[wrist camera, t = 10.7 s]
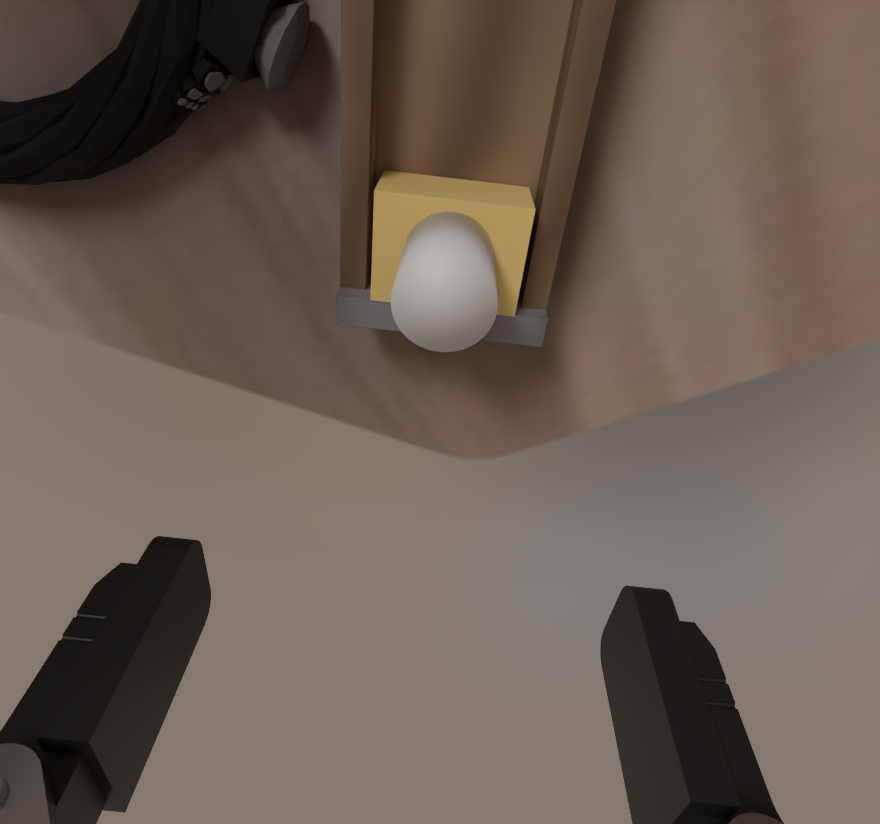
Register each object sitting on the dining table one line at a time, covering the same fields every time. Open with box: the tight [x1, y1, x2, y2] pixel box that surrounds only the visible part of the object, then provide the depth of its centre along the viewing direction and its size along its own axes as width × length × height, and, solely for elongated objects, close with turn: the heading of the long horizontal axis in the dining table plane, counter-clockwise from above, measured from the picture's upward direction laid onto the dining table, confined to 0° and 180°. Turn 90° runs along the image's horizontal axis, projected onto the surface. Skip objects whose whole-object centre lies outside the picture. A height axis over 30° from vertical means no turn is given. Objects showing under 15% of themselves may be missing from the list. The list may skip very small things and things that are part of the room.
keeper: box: [370, 170, 535, 352], centre depth 25 cm, size 7×5×8 cm
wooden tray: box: [337, 0, 616, 347], centre depth 24 cm, size 10×22×5 cm, turn 174°
